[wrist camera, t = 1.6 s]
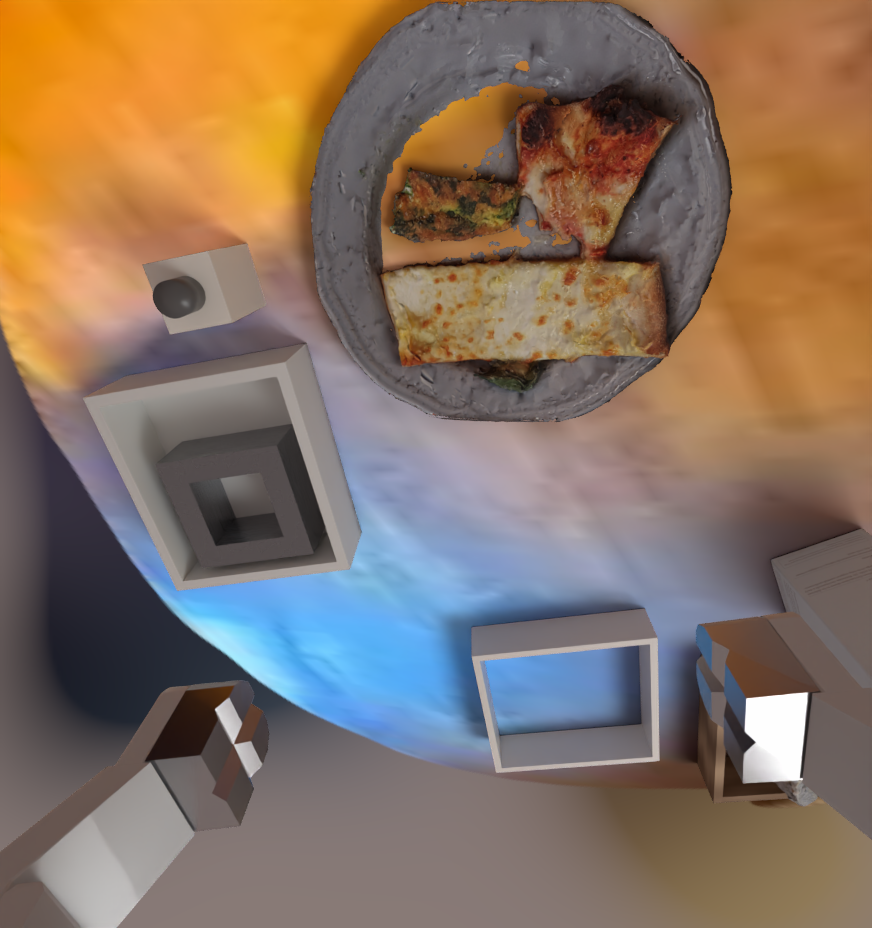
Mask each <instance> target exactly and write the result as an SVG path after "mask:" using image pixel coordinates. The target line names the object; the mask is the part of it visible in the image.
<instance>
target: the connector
mask: <svg viewBox="0 0 872 928" xmlns="http://www.w3.org/2000/svg"><path fill="white" fill-rule="evenodd" d="M143 268H144V270H145V273H146V275H147V278H148V280H149V283H150V285H151V288H152V290H153V300H154V303H155V306H156V307H157V309H158V310H159V311H160V312H161V313H162V316H163V318H164V321H165V323H166V326H167V328H168V331H169V333H170V335H171V334H176V333H181V332H186V331H192V330H197V329H202V328H208V327H213V326H218V325H223V324H229V323H233V322H235V321H237V320H239V319H241V318H243V317H245V316H247V315H249V314H250V313H252V312H254V311H256V310H258V309H260V308H262V307H264V306H266V302H265V298H264V295H263V292H262V289H261V286H260V282H259V279H258V276H257V273H256V270H255V266H254V263H253V260H252V257H251V254H250V250H249V247H248V244H242V245H236V246H231V247H226V248H221V249H216V250H210V251H205V252H201V253H196V254H191V255H186V256H181V257H177V258H172V259H167V260H162V261H157V262H153V263H148V264H143Z"/></svg>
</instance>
